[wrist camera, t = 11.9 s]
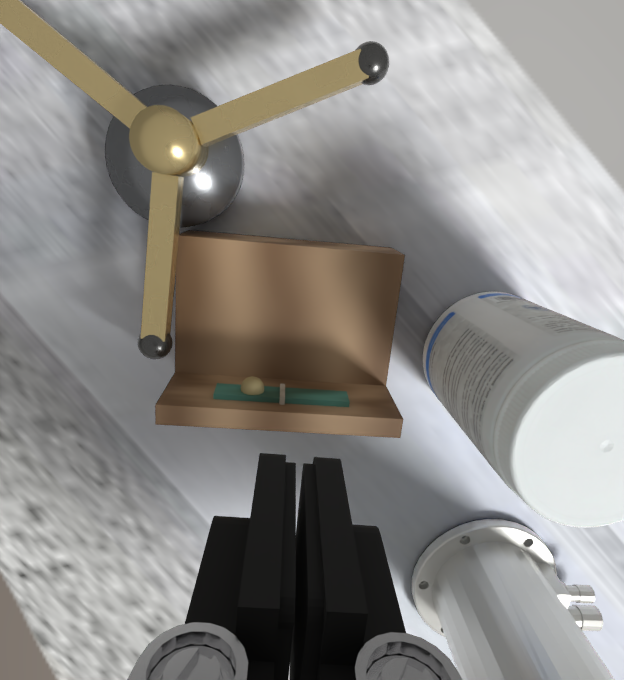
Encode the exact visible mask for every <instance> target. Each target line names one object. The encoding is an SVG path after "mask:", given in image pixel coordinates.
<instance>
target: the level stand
mask: <svg viewBox="0 0 624 680" xmlns="http://www.w3.org/2000/svg"><path fill="white" fill-rule="evenodd" d="M404 257H405V255H404V254H402V253H400V252H398V251H397V250H395V249H393V248H389V247H378V246H366V245H355V244H343V243H332V242H320V241H308V240H297V239H285V238H274V237H262V236H251V235H239V234H228V233H216V232H204V231H193V230H188V231H186V232H183V233H181V234H179V239H178V250H177V262H176V319H175V373H174V375H173V377H172V378H171V380H170V382H169V383H168V385H167V387H166V388H165V390H164V391H163V393H162V395H161V396H160V398H159V400H158V401H157V403H156V405H155V415H156V424H158V425H176V426H194V427H212V428H230V429H249V430H267V431H285V432H303V433H321V434H339V435H357V436H375V437H393V438H400V436H401V430H402V424H403V418H402V416H401V414H400V412H399V410H398V408H397V406H396V404H395V403H394V401H393V399H392V397H391V395H390V393H389V391H388V389H387V387H386V381H387V375H388V368H389V361H390V354H391V347H392V340H393V333H394V326H395V319H396V313H397V306H398V299H399V292H400V285H401V278H402V271H403V264H404Z"/></svg>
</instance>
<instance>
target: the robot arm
mask: <svg viewBox="0 0 624 680" xmlns="http://www.w3.org/2000/svg"><path fill="white" fill-rule="evenodd" d="M412 595H413V599H414V603H415V606H416V608H417V611H418V614H419V615H420V617H421V618H422V620H423V621H424V622H425V623H426V624H427V625H428V626H429V627H430V628H431V629H432V630H434V631H435V632H437V633H438V634H440V635H442V636H444V637H446V640H447V643H448V646H449V649H450V651H451V654H452V657H453V660H454V662H455V665H456V668H457V669H456V668H455V666H454V665H453V663H452V662H451V660H450V659H449V658H448V657H447V656H446V655H445V654H444V653H443V652H442V651H440V650H439V649H438V648H437V647H436V646H434V645H433V644H431V643H429V642H427V641H426V640H424V639H422V638H420V637H417V636H413V635H410V634H407V633H406V631H405V627H404V623H403V620H402V616H401V612H400V608H399V604H398V600H397V596H396V593H395V589H394V585H393V581H392V577H391V573H390V569H389V566H388V562H387V558H386V554H385V550H384V546H383V542H382V539H381V535H380V532H379V529H378V528H377V527H376V526H364V525H352V520H351V515H350V509H349V504H348V498H347V492H346V487H345V481H344V476H343V470H342V464H341V460H340V459H333V458H319V457H314V460H313V464H305V463H304V464H303V471H302V480H301V490H300V500H299V509H298V519H297V529H296V463H290V462H286V455H277V454H263V453H260V455H259V462H258V469H257V476H256V483H255V490H254V497H253V503H252V510H251V517H250V518H239V517H223V516H214V518H213V521H212V524H211V528H210V531H209V535H208V539H207V543H206V546H205V550H204V554H203V558H202V561H201V565H200V569H199V573H198V576H197V580H196V584H195V588H194V591H193V595H192V599H191V603H190V606H189V610H188V614H187V618H186V621H185V624H183V625H178V626H176V627H174V628H172V629H170V630H168V631H165V632H163V633H162V634H160V635H159V636H158V637H157V638H156V639H154V640H153V641H152V642H151V643H149V644H148V646H147V647H146V649H145V650H144V651H143V653H142V654H141V655H140V657H139V658H138V660H137V662H136V664H135V666H134V668H133V670H132V672H131V674H130V675H129V677H128V679H127V680H288V675H289V665H290V680H615V679H614V678H613V676H612V675H611V673H610V672H609V670H608V669H607V667H606V666H605V664H604V663H603V661H602V660H601V658H600V657H599V655H598V654H597V652H596V651H595V649H594V648H593V646H592V645H591V643H590V642H589V640H588V639H587V637H586V636H585V635H584V633H583V632H582V631H600V630H601V629H602V627H603V619H602V615H601V613H600V611H599V609H598V608H597V607H596V606H592V605H572V606H569V603H570V602H576V603H594V601H595V594H594V591H593V589H592V587H591V586H589V585H572V586H571V585H565V583H563V582H561V581H560V579H559V578H558V577H557V571H556V563H555V561H554V558H553V555H552V553H551V552H550V550H549V549H548V547H547V546H546V544H545V543H544V542H543V541H542V539H541V538H540V537H539V536H538V535H537V534H536V533H534V532H533V531H532V530H530V529H529V528H527V527H525V526H523V525H521V524H518V523H516V522H512V521H507V520H501V519H485V520H477V521H472V522H469V523H465V524H462V525H460V526H457V527H455V528H453V529H451V530H449V531H447V532H446V533H444V534H443V535H441V536H440V537H438V538H437V539H436V540H435V541H434V542H433V543H431V544H430V545H429V546H428V547H427V548H426V550H425V551H424V552H423V554H422V555H421V557H420V558H419V560H418V562H417V564H416V566H415V568H414V572H413V576H412Z"/></svg>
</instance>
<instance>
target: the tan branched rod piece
mask: <svg viewBox="0 0 624 680" xmlns="http://www.w3.org/2000/svg"><path fill="white" fill-rule="evenodd" d="M0 23H1V24H2V25H3V26H4V27H5V28H7V29H8V30H9V31H10V32H12V33H13V34H14V35H15V36H17V37H18V38H19V39H20V40H21V41H23V42H24V43H25V44H26V45H28V46H29V47H30V48H31V49H32V50H34V51H35V52H36V53H37V54H39V55H40V56H41V57H42V58H44V59H45V60H46V61H47V62H48V63H50V64H51V65H52V66H53V67H55V68H56V69H57V70H58V71H60V72H61V73H62V74H63V75H64V76H66V77H67V78H68V79H69V80H71V81H72V82H73V83H74V84H75V85H77V86H78V87H79V88H80V89H82V90H83V91H84V92H85V93H87V94H88V95H89V96H90V97H91V98H93V99H94V100H95V101H96V102H98V103H99V104H100V105H101V106H103V107H104V108H105V109H106V110H107V111H109V112H110V113H111V114H112V115H114V117H113V119H112V120H111V123H110V125H109V128H108V132H107V136H106V143H105V158H106V165H107V169H108V172H109V176H110V178H111V181H112V183H113V185H114V187H115V189H116V190H117V192H118V194H119V195H120V196H121V198H122V199H123V200H124V201H125V203H126V204H127V205H128V206H129V207H130V208H131V209H133V210H134V211H135V212H136V213H137V214H139V215H140V216H142V217H143V218H145V219H147V220H149V224H148V239H147V253H146V268H145V282H144V296H143V311H142V325H141V334H140V336H139V338H138V347H139V350H140V352H141V353H142V354H143V355H144V356H145V357H147V358H150V359H160V358H163V357H165V356H166V355H167V354H168V353H169V352H170V350H171V348H172V338H171V335H170V330H171V319H172V307H173V296H174V285H175V273H176V262H177V250H178V239H179V227H190V226H195V225H198V224H201V223H204V222H206V221H209V220H211V219H213V218H215V217H216V216H218V215H219V214H221V213H222V212H223V211H224V210H226V209H227V208H228V206H229V205H230V204H231V203H232V202H233V200H234V199H235V197H236V196H237V193H238V191H239V189H240V186H241V183H242V180H243V175H244V154H243V149H242V145H241V142H240V139H239V136H238V134H239V133H242V132H244V131H247V130H249V129H252V128H254V127H257V126H259V125H262V124H264V123H267V122H269V121H272V120H274V119H277V118H279V117H282V116H284V115H287V114H289V113H292V112H294V111H297V110H299V109H302V108H304V107H307V106H309V105H312V104H314V103H317V102H319V101H322V100H324V99H327V98H329V97H332V96H334V95H337V94H339V93H342V92H344V91H347V90H349V89H352V88H354V87H357V86H359V85H362V84H365V85H373V84H376V83H378V82H379V81H381V80H382V79H383V78H384V76H385V75H386V73H387V71H388V67H389V57H388V53H387V51H386V49H385V48H384V47H383V46H382V45H381V44H379V43H377V42H373V41H369V42H365V43H363V44H361V45H360V46H359V47H358V48H357V49H356V50H355V51H353V52H351V53H348V54H346V55H343V56H341V57H338V58H336V59H333V60H331V61H329V62H326V63H324V64H321V65H319V66H316V67H314V68H311V69H309V70H306V71H304V72H301V73H299V74H296V75H294V76H292V77H289V78H287V79H284V80H282V81H279V82H277V83H274V84H272V85H269V86H267V87H264V88H262V89H259V90H257V91H255V92H252V93H250V94H247V95H245V96H242V97H240V98H237V99H235V100H232V101H230V102H227V103H225V104H222V105H220V106H216V105H215V104H214V103H213V102H212V101H211V100H209V99H208V98H207V97H205V96H203V95H202V94H200V93H198V92H196V91H194V90H191V89H189V88H185V87H181V86H175V85H159V86H153V87H150V88H146V89H143V90H141V91H139V92H137V93H136V94H134V95H133V94H132V93H131V92H130V91H128V90H127V89H126V88H125V87H124V86H122V85H121V84H120V83H119V82H118V81H116V80H115V79H114V78H113V77H112V76H110V75H109V74H108V73H107V72H106V71H104V70H103V69H102V68H101V67H100V66H98V65H97V64H96V63H95V62H94V61H92V60H91V59H90V58H89V57H88V56H86V55H85V54H84V53H83V52H82V51H81V50H79V49H78V48H77V47H76V46H75V45H73V44H72V43H71V42H70V41H69V40H67V39H66V38H65V37H64V36H63V35H61V34H60V33H59V32H58V31H57V30H55V29H54V28H53V27H52V26H51V25H49V24H48V23H47V22H46V21H45V20H43V19H42V18H41V17H40V16H39V15H37V14H36V13H35V12H34V11H33V10H31V9H30V8H29V7H28V6H27V5H25V4H24V3H23V2H22V1H21V0H0Z"/></svg>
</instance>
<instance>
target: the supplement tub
mask: <svg viewBox="0 0 624 680" xmlns="http://www.w3.org/2000/svg"><path fill="white" fill-rule="evenodd" d="M423 369H424V374H425V377H426V380H427V383H428V385H429V387H430V388H431V390H432V391H433V393H434V394H435V395H436V397H437V398H438V400H439V401H440V402H441V403H442V404H443V406H444V407H445V408H446V410H447V411H448V412H449V413H450V415H451V416H452V417H453V418H454V420H455V421H456V422H457V424H458V425H459V426H460V427H461V429H462V430H463V431H464V432H465V434H466V435H467V436H468V437H469V439H470V440H471V441H472V442H473V444H474V445H475V446H476V448H477V449H478V450H479V451H480V453H481V454H482V455H483V456H484V458H485V459H486V460H487V461H488V463H489V464H490V465H491V467H492V468H493V469H494V470H495V471H496V473H497V474H498V475H499V476H500V478H501V479H502V480H503V481H504V482H505V484H506V485H507V486H508V487H509V488H510V489H511V490H512V491H513V492H514V493H515V494H516V495H517V496H519V497H520V498H521V499H522V500H523V501H524V502H525V503H526V504H527V505H528V506H529V507H530V508H531V509H533V510H534V511H535V512H536V513H538V514H539V515H541V516H542V517H544V518H546V519H548V520H551V521H553V522H556V523H558V524H562V525H566V526H572V527H586V528H588V527H599V526H605V525H610V524H614V523H617V522H621V521H623V520H624V340H622V339H620V338H618V337H615V336H613V335H610V334H608V333H606V332H603V331H601V330H598V329H596V328H593V327H591V326H588V325H586V324H583V323H581V322H579V321H576V320H574V319H571V318H569V317H566V316H564V315H562V314H559V313H557V312H554V311H552V310H549V309H547V308H544V307H542V306H539V305H537V304H535V303H532V302H530V301H527V300H525V299H522V298H520V297H518V296H515V295H513V294H509V293H504V292H482V293H477V294H474V295H470V296H468V297H465V298H463V299H461V300H459V301H458V302H456V303H455V304H453V305H452V306H450V307H449V308H448V309H447V310H446V311H445V312H444V313H443V314H442V315H441V316H440V317H439V318H438V320H437V321H436V322H435V324H434V325H433V327H432V328H431V330H430V332H429V334H428V336H427V339H426V342H425V345H424V350H423Z"/></svg>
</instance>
